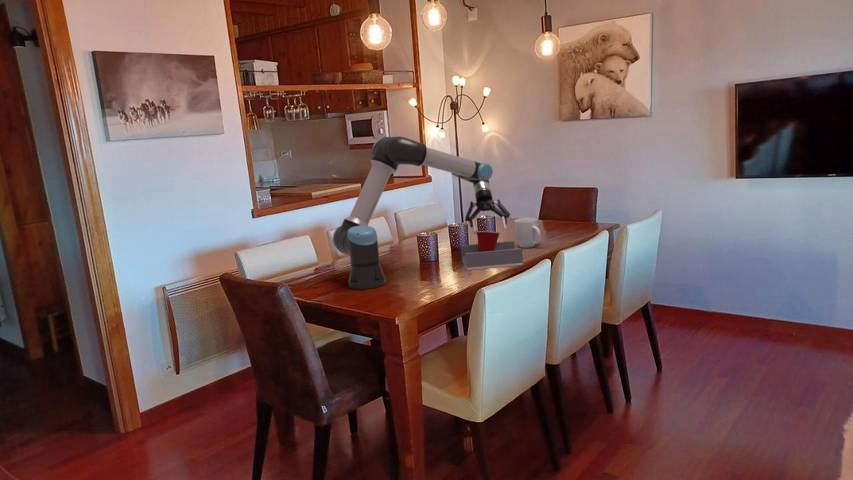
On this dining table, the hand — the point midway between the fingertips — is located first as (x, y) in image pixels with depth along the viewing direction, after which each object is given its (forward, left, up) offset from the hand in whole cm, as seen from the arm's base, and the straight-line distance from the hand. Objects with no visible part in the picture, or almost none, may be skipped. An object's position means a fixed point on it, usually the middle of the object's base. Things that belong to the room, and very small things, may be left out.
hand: (490, 231), depth 261 cm
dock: (-1, -5, -13) cm, 14 cm away
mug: (+21, +20, -13) cm, 32 cm away
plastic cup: (-4, -4, -11) cm, 12 cm away
